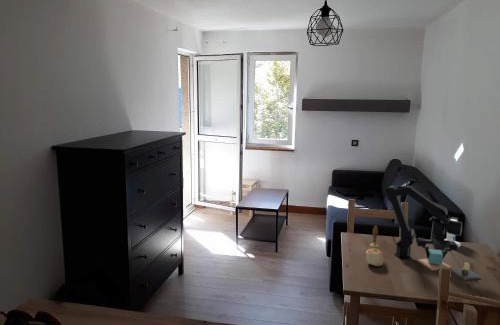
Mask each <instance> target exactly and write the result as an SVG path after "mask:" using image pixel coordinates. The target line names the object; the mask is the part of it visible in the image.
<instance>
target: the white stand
mask: <svg viewBox="0 0 500 325" xmlns="http://www.w3.org/2000/svg"><path fill="white" fill-rule="evenodd" d="M450 218H451V220H452V221H459V218H458V217H454V216H451V217H450ZM456 237H457V235H454V234H449V233H448V232H447V231H446V238H444V240H446V241H453V242H455V243H456V244H457V246H458V248H460V247H461V246H462V244H461V243H460V242H458V241H456Z"/></svg>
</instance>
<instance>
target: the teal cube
mask: <svg viewBox="0 0 500 325" xmlns="http://www.w3.org/2000/svg"><path fill="white" fill-rule="evenodd" d="M426 259H427V258H426ZM442 259H443V260H444V258H443V254H442V250H436V249H434V248H433V249H432V248H429V256H428V259H427V260H428V262H429V263H433V264H440V265H442V262H443V260H442Z"/></svg>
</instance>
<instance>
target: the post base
mask: <svg viewBox="0 0 500 325" xmlns="http://www.w3.org/2000/svg"><path fill="white" fill-rule="evenodd" d="M450 270H451V272H450V273H452V274H453V275H455V276H457V277H458V278H460V279H462V280H463V281H471V280H478V279H481V275H479V274H477V273H475V272H474V271H472V270H470V263H469V262H467V261H464V262H463V263H462V267H459V268H452V269H451V268H450Z"/></svg>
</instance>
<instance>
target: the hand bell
mask: <svg viewBox="0 0 500 325" xmlns="http://www.w3.org/2000/svg"><path fill="white" fill-rule="evenodd" d="M378 234H379V230H378V226H377V225H374V227H373V229H372V237H373V238H372V242H371V243H370V244H369V248H368V249H367V250H366V251H365V254H366V255H367V252H368V251H369V250H370V249H372V248H375V249H378V250H380V249H379V245H378V244H377V237H378Z"/></svg>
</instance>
